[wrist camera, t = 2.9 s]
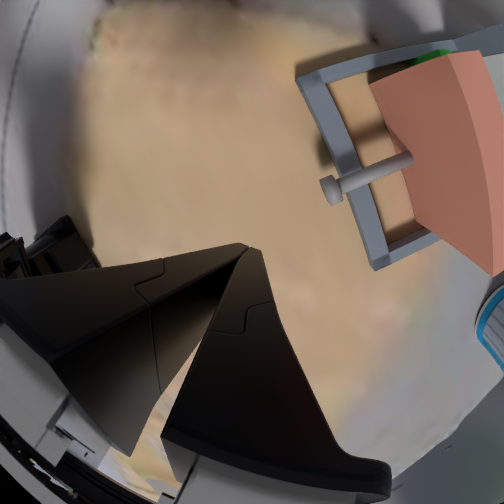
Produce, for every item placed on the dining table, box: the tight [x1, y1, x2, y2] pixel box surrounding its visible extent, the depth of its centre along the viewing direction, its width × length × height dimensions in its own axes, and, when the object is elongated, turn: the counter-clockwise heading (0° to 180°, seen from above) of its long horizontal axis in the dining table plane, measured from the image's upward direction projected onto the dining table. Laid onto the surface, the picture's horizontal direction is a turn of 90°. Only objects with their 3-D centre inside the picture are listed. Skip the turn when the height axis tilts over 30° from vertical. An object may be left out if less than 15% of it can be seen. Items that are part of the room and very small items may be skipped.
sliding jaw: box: [319, 50, 504, 277], centre depth 14 cm, size 9×11×10 cm
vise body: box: [295, 23, 504, 271], centre depth 13 cm, size 17×15×10 cm
